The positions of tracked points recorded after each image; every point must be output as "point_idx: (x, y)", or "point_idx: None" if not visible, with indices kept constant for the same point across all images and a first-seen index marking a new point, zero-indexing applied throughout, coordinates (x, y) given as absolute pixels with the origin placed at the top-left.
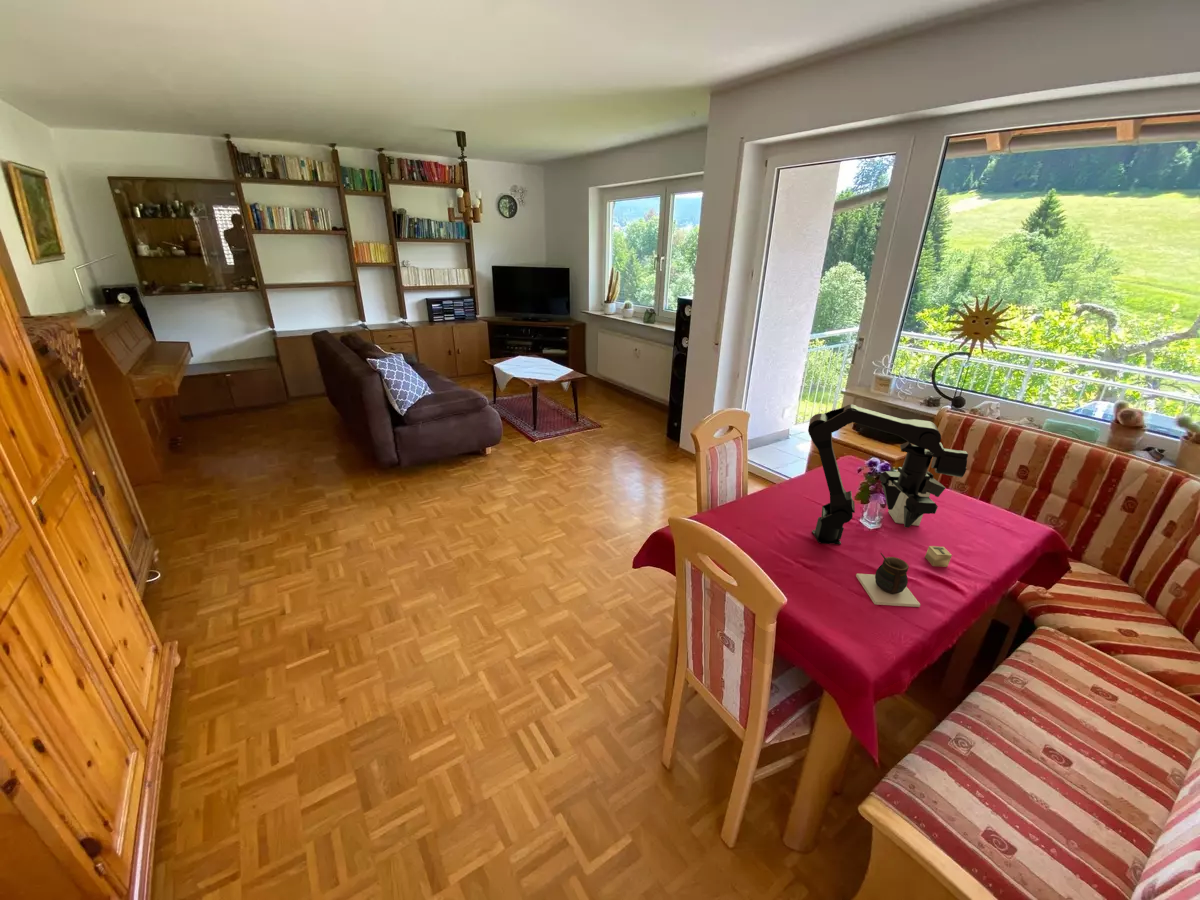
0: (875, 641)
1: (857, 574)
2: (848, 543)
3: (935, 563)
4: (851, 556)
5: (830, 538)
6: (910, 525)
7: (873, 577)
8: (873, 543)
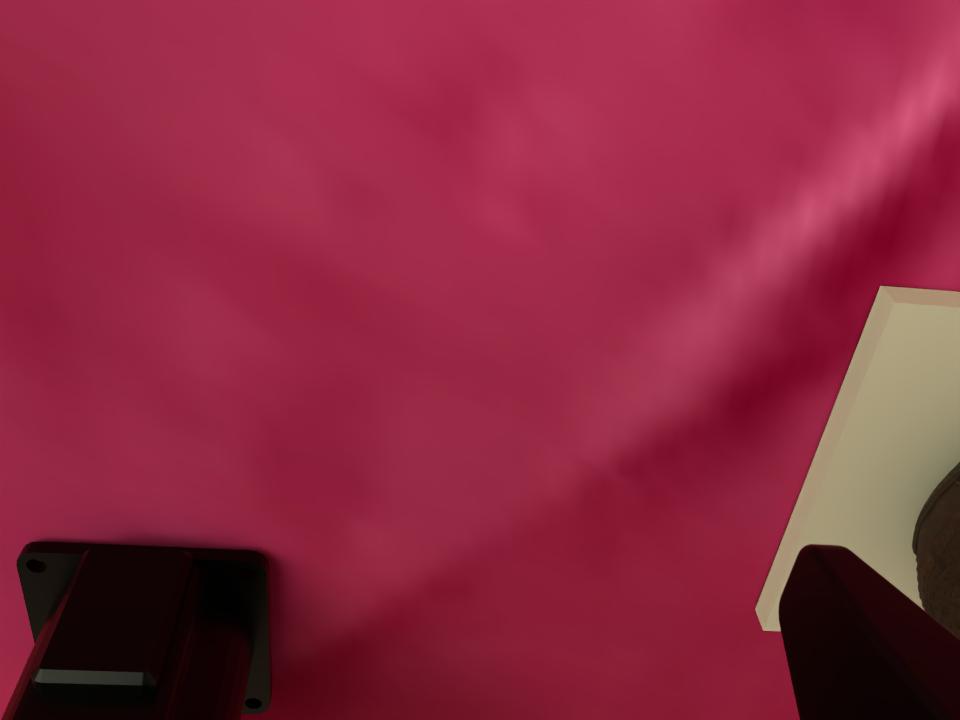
0: None
1: (777, 629)
2: (223, 470)
3: None
4: (467, 533)
5: (247, 683)
6: (894, 592)
7: (847, 533)
8: (172, 189)
